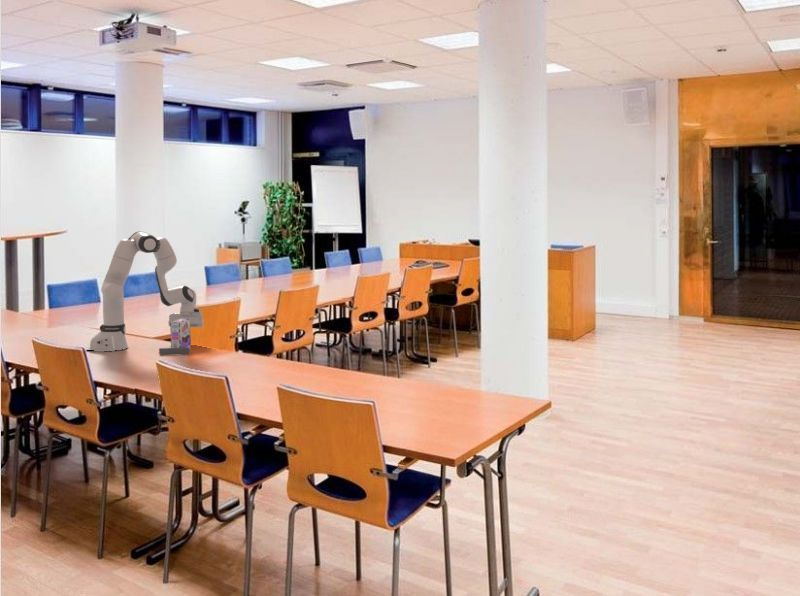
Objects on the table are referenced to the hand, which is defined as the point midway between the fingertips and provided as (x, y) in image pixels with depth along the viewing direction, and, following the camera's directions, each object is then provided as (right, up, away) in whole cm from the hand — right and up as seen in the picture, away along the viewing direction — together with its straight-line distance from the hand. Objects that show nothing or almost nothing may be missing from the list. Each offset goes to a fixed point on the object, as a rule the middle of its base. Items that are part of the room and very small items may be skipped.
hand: (184, 332), depth 438 cm
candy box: (+2, -9, -13) cm, 16 cm away
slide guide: (+2, -10, -21) cm, 23 cm away
